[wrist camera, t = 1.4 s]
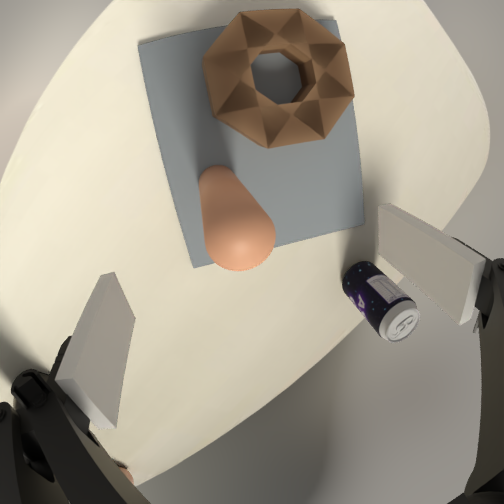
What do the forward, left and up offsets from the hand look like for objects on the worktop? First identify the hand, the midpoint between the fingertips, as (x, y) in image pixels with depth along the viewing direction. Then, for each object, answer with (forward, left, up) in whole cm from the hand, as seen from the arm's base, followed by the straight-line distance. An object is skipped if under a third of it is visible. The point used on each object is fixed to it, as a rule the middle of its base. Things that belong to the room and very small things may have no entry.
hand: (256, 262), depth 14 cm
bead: (+8, +10, -19) cm, 23 cm away
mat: (+6, +4, -20) cm, 21 cm away
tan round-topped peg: (0, 0, -19) cm, 19 cm away
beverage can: (+16, -17, -20) cm, 31 cm away
